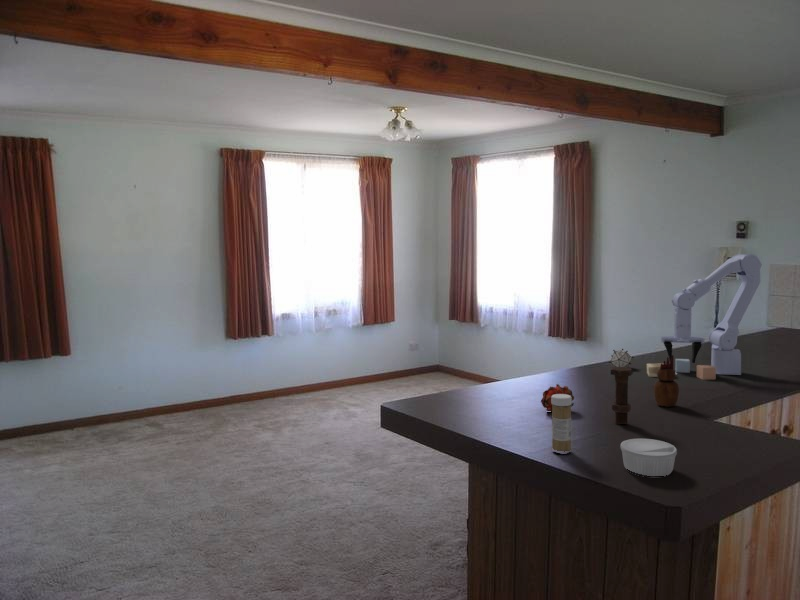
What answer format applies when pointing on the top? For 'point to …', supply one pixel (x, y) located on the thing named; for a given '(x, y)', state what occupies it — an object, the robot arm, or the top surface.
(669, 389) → the wooden figurine
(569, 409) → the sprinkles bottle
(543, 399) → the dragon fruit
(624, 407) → the bolt
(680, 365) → the blue-grey block
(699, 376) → the terracotta block
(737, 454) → the top surface
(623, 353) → the game die
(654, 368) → the maple base block
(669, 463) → the ramekin
